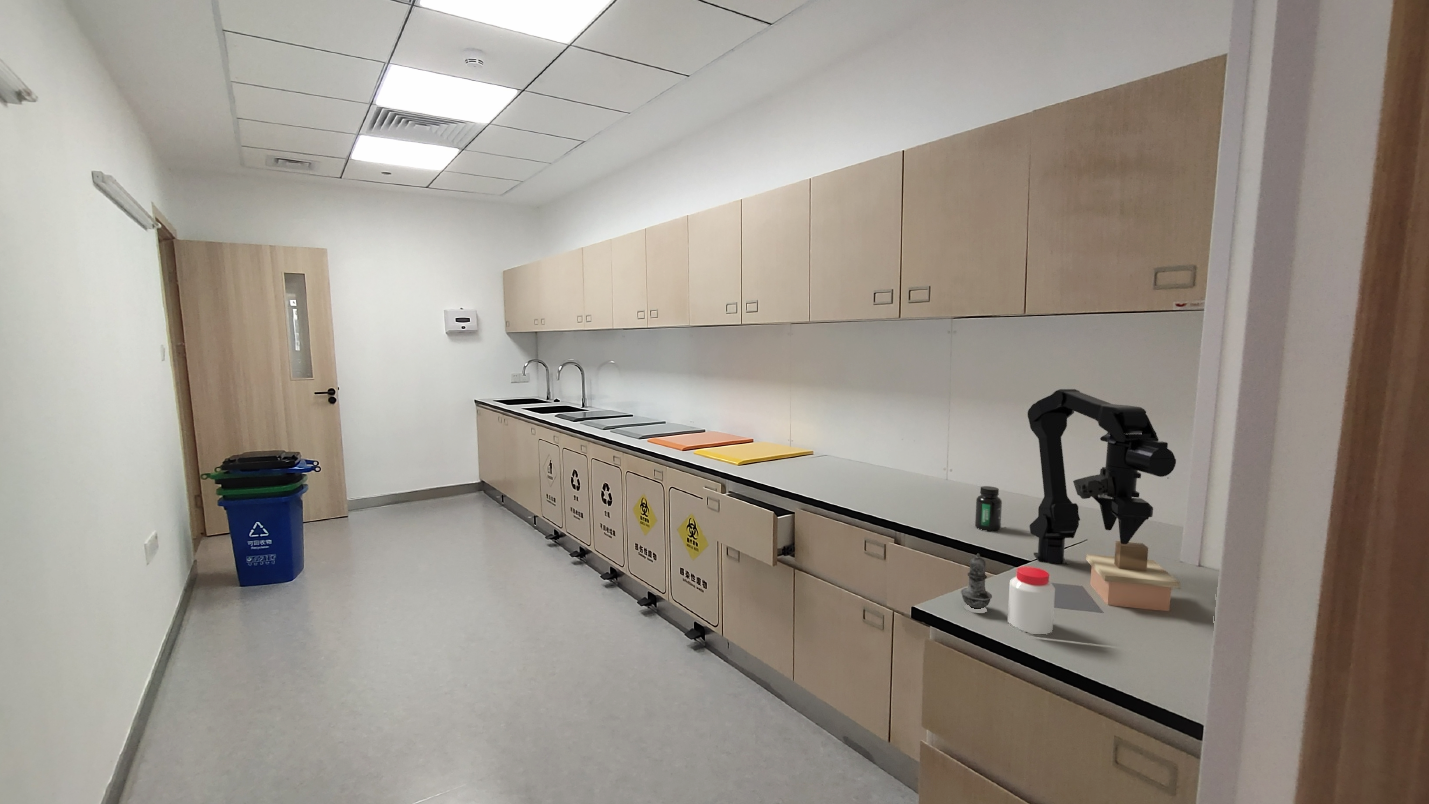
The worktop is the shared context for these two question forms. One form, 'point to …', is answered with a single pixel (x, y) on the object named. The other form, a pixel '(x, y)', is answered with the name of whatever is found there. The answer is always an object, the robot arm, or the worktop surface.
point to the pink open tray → (1131, 594)
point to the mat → (1074, 598)
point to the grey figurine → (976, 585)
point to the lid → (1131, 566)
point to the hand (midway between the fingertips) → (1115, 536)
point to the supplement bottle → (988, 509)
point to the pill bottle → (1031, 601)
